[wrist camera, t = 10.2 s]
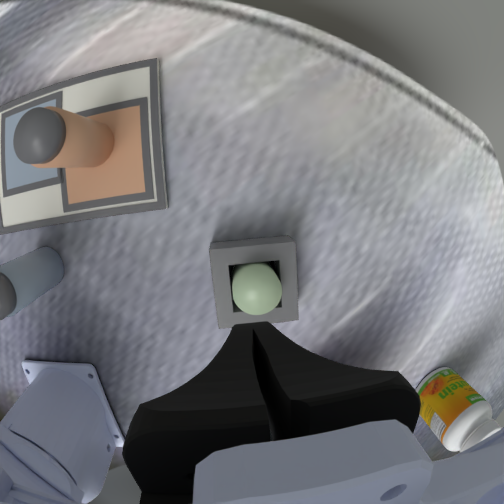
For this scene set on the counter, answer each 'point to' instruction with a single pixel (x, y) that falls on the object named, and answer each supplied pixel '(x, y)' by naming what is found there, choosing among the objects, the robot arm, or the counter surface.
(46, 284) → the cylinder
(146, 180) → the picture card
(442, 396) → the supplement bottle
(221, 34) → the counter surface
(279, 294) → the button
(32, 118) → the terracotta marker
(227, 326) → the button housing
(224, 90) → the counter surface
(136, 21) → the counter surface
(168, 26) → the counter surface
